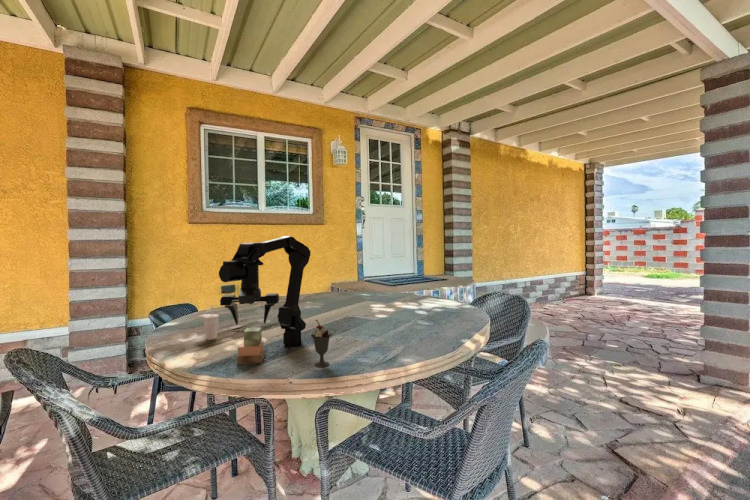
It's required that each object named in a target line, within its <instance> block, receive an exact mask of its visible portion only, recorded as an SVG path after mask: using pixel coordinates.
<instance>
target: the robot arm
mask: <svg viewBox="0 0 750 500" xmlns="http://www.w3.org/2000/svg"><path fill="white" fill-rule="evenodd" d="M280 249H283V250H284V252H285V254H286V255H288V262H289V265H290V272H289V278H288V283H287V289H286V290H287V292H286V297H285V301H284V304H283V305H282V306H279V308H278V313H277V316H276V318H277V322H278V323H279V326H280V329H281V330H284V332H283V335H282V336H283V338H282V339H283V344H284V347H285V348H288V347H301V346H302V344H303V340H302V332H303V331H304V330H306V326H307V323H306V322H305V320H303V318H302V317H301V315H302V311H301V309H300V305H299V301H300V294H301V287H302V281H303V275H304V274H303V273H304V269H305V267H306V266H307V265H308V264H309V261H310V258H311V250H310V248H309V246H307V245H306V244H304V243H302V242H301V241H298V240H297V239H296V238H295V237H294V236H291V235H283V236H281V237H277V238H274V239H269V240H265V241H261V242H260V241H259V242H242V243H239V244H238V247H237V250H236V252H235V253H234V256H233V257H232V259H231V260H230V261H229V260H223V262H222V265H221V266H220V268H219V271H218V277H219V279H220V281H221V282H222V283H231V282H237V281H238V282H239V281H240V282H241V283H240V289H239V292H238V294H237V296H236V294H224V295H223V296H221V298H220V300H219V303H220V306H224V308H226V309H228V310H229V312H230V314H231V315H232V317H233V320H234V322H235V325H239V310H238V303H239V305H247V304H249V305H253V304H254V303H255V302H257V303H258V302H260V303H261V302H265V304H264V311H263V312H264V315H263V324H266V322H267V319H268V316H269V314H270V313H269V312H270V310H271V308H272V307H274V306H275V305H276V304H278V303H279V301H280V295H279V293H277V292H275V293H274V292H272V293H267V294H266V295H262V291H261V287H260V281H259V280H260V278H259V275H260V274H259V272H260V271H259V266H264V262H263V261H261V260H260V258H262V257H263V256H265V255H266V254H267V253H271V252H273V251H277V250H280Z"/></svg>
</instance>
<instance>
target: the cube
mask: <svg viewBox="0 0 750 500" xmlns="http://www.w3.org/2000/svg"><path fill="white" fill-rule="evenodd" d="M262 335H263V334H262V327H246V329H245V330H243V341H244V346H259V345H260V343H261V341H263V340H262V337H263V336H262Z"/></svg>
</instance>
